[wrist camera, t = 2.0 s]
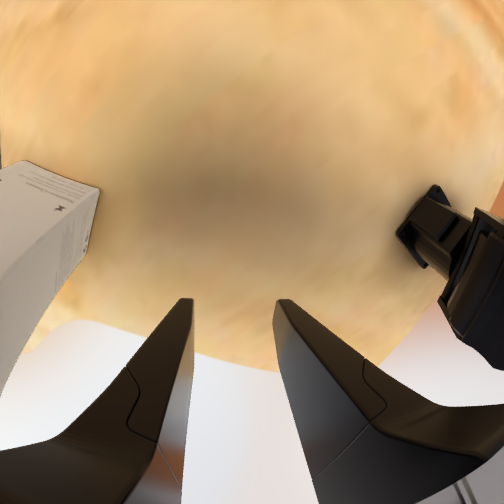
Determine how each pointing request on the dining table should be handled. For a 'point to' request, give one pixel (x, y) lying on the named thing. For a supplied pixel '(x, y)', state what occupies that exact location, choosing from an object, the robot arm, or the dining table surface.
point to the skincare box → (37, 248)
